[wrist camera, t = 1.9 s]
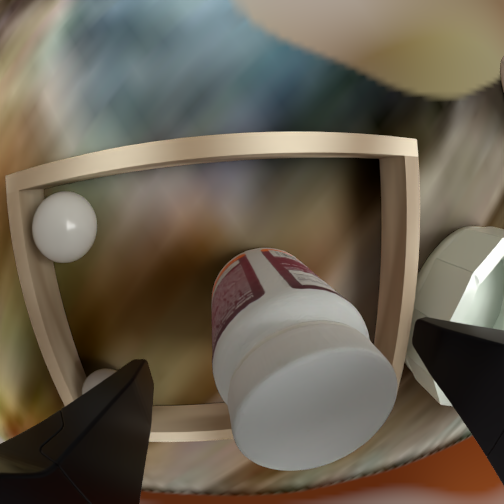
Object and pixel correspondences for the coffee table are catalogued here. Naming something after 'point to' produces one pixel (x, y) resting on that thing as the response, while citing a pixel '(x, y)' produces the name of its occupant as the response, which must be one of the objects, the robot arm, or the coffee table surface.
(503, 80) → the teacup with lid
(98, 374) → the pebble
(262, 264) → the pill bottle
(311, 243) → the coffee table surface
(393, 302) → the tray
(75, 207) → the pebble
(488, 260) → the bowl
